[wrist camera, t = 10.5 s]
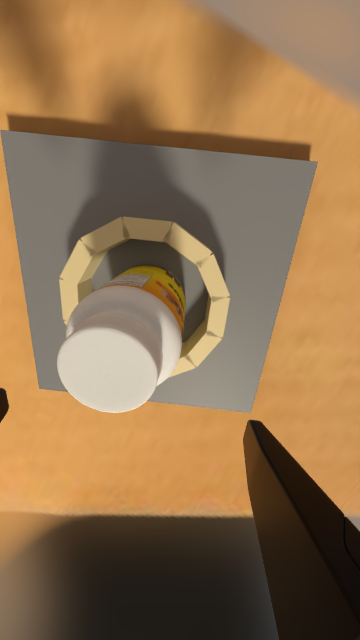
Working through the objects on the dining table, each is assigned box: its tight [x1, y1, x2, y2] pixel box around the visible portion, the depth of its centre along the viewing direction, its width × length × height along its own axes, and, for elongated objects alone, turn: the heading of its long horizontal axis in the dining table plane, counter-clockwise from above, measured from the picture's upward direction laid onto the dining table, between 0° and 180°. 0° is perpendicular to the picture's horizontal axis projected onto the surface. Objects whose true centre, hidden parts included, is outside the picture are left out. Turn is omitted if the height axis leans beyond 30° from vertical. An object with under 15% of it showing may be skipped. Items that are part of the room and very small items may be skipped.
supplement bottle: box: [57, 264, 186, 413], centre depth 14 cm, size 6×6×10 cm
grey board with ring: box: [0, 130, 318, 413], centre depth 18 cm, size 20×20×4 cm
